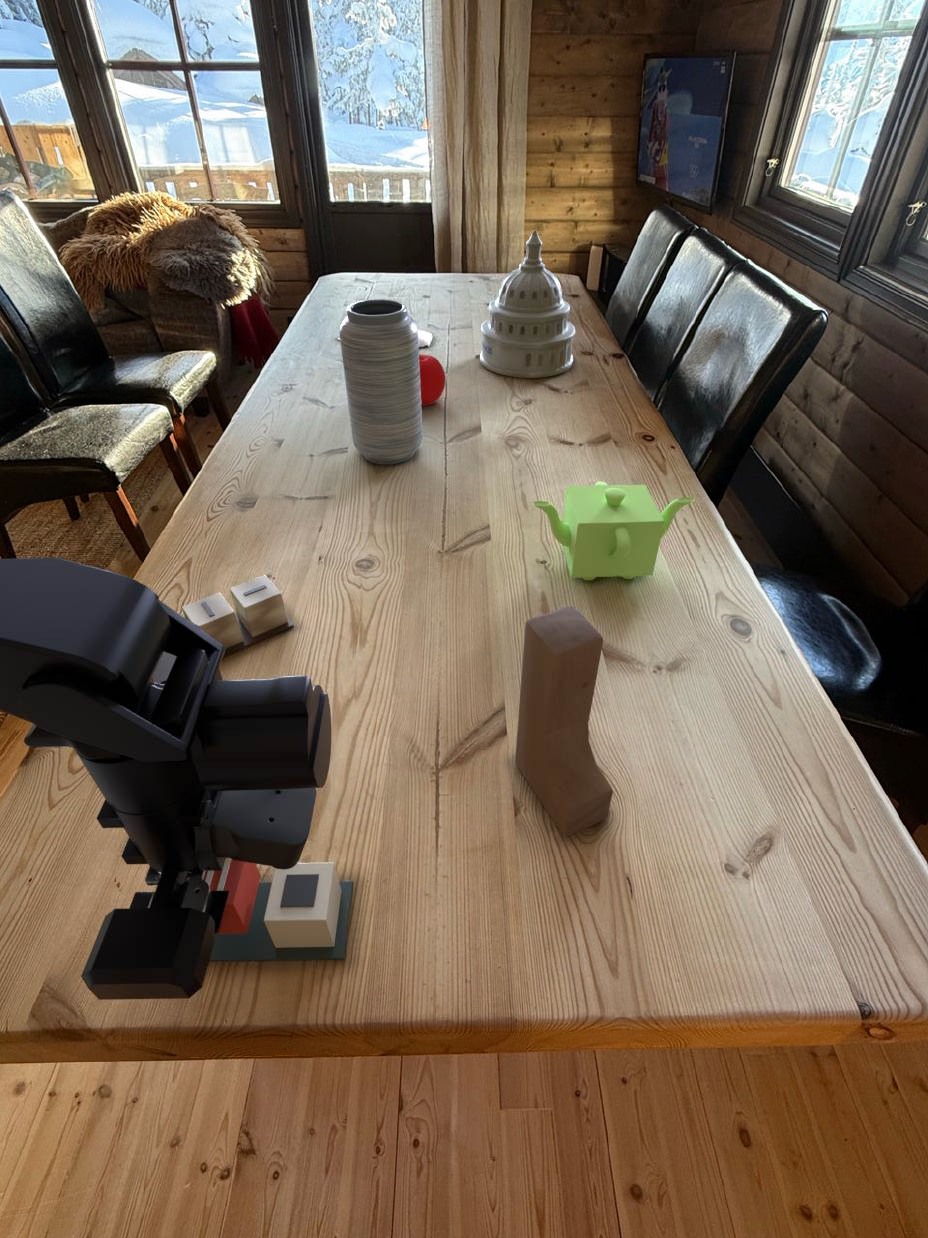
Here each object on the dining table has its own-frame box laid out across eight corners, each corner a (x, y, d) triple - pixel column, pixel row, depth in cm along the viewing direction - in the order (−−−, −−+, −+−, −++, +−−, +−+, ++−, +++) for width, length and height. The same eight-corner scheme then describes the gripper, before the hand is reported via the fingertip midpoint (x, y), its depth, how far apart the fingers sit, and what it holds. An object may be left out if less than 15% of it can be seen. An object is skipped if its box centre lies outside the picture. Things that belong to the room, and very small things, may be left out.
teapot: (526, 565, 86) (531, 494, 79) (579, 522, 94) (588, 453, 87) (631, 612, 79) (647, 537, 72) (679, 560, 87) (698, 489, 80)
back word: (156, 687, 70) (141, 654, 67) (139, 656, 74) (124, 623, 70) (294, 627, 77) (286, 594, 74) (272, 601, 81) (264, 569, 78)
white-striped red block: (186, 934, 48) (168, 905, 45) (204, 876, 51) (188, 846, 48) (247, 933, 48) (233, 904, 45) (261, 876, 51) (248, 845, 48)
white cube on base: (182, 963, 49) (162, 933, 46) (205, 885, 53) (188, 853, 50) (344, 960, 49) (335, 931, 46) (353, 883, 53) (346, 851, 50)
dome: (500, 216, 136) (596, 223, 131) (496, 341, 153) (582, 351, 147) (465, 236, 122) (572, 244, 117) (466, 371, 138) (559, 384, 133)
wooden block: (608, 820, 58) (643, 676, 46) (564, 840, 56) (589, 697, 44) (553, 746, 64) (573, 602, 52) (513, 762, 62) (523, 618, 51)
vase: (340, 451, 111) (321, 306, 96) (396, 431, 117) (385, 291, 102) (381, 476, 104) (366, 324, 89) (437, 454, 110) (432, 307, 95)
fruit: (410, 389, 131) (407, 337, 125) (452, 396, 129) (451, 343, 122) (390, 407, 125) (385, 353, 118) (433, 414, 122) (431, 360, 116)
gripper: (257, 931, 32) (308, 1041, 42) (318, 659, 46) (345, 790, 56) (24, 935, 31) (132, 1044, 42) (157, 661, 46) (214, 792, 56)
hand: (221, 899), depth 49 cm, fingers closed on white-striped red block, 4 cm apart
